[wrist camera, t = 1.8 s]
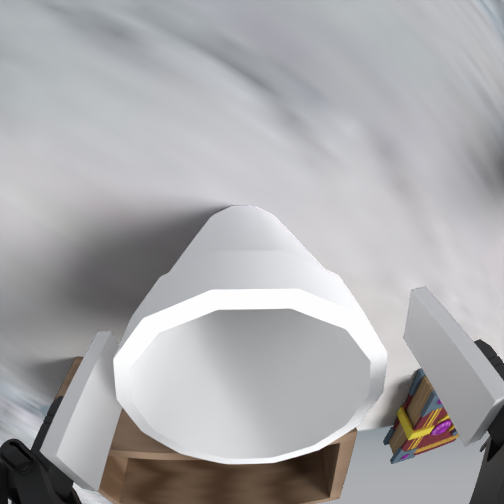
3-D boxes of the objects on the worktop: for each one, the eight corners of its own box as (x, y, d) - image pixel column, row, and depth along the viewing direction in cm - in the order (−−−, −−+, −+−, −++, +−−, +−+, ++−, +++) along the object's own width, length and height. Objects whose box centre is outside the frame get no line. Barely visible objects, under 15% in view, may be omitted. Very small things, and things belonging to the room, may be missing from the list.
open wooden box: (130, 437, 31) (115, 504, 22) (75, 357, 25) (37, 437, 16) (321, 423, 30) (339, 498, 21) (322, 333, 25) (357, 431, 16)
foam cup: (334, 259, 22) (415, 397, 10) (234, 326, 24) (236, 479, 12) (254, 151, 19) (287, 210, 7) (147, 239, 21) (65, 377, 9)
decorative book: (486, 348, 29) (506, 373, 24) (442, 424, 35) (454, 448, 31) (416, 367, 28) (435, 399, 24) (379, 443, 35) (389, 470, 30)
